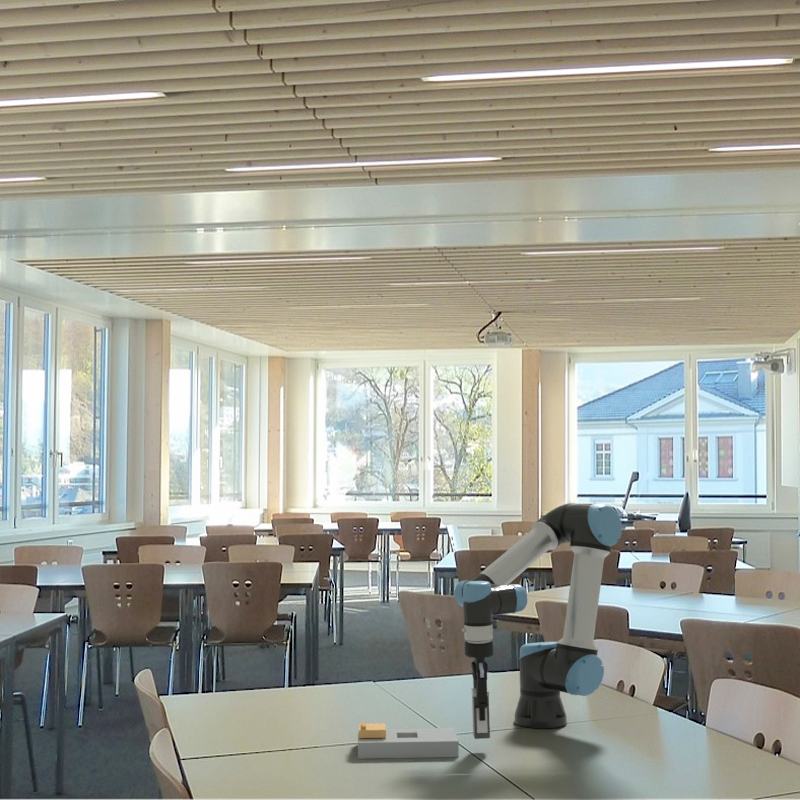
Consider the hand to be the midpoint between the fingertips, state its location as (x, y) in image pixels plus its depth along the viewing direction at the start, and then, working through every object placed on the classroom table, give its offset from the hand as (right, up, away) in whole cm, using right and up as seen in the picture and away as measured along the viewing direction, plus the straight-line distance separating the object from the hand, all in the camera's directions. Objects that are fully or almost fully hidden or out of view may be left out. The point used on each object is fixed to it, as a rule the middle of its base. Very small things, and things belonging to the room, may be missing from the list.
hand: (481, 729), depth 285 cm
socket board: (-20, -6, +1) cm, 20 cm away
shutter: (-29, -1, +1) cm, 29 cm away
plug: (0, -2, 0) cm, 2 cm away
